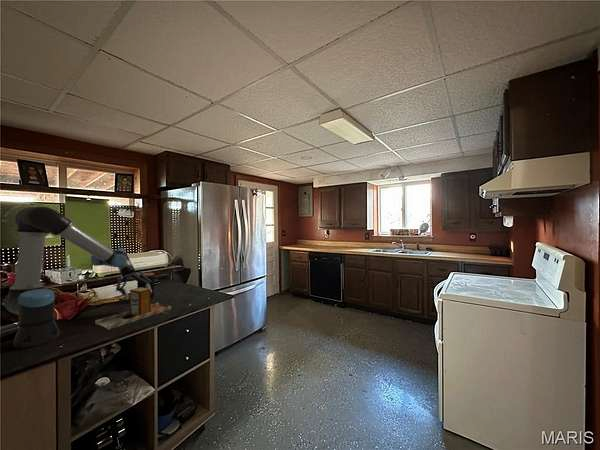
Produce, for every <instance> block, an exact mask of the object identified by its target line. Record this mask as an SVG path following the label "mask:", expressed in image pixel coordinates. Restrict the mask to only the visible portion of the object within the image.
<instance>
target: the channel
mask: <svg viewBox="0 0 600 450" xmlns="http://www.w3.org/2000/svg"><path fill="white" fill-rule="evenodd" d="M159 305H160V302H156V303H151V308H152V307H156V306H159ZM164 307H165V308H161V309H158V310H155V311H152V312H149V313H145V314H142V315H139V316H136V317H134V316H132V317H129V318H127V319H126V318H125V319H126V320H123V321H120V322H117V323H113V324H110V325H107V328H106V330H107V331H109V330H111V329H114V328H118V327H120V326H123V325H124V326H125V325H127V324H131V323H133V322H136V321H139V320H142V319H145V318H149V317H151V316H155V315H158V314H160V313H164V312H168V311H170V310H172V306H171V305H168V306H164ZM127 316H131V315H130V310H127V311H124V312H120V313H118V314H114V315H110V316H107V317H103V318H100V319H96V320H94V321H95V324H94V325H96V326H97V325H98V324H99V323H102V322H106V321H109V320H112V319H116V318H119V317H121V318H124V317H127Z"/></svg>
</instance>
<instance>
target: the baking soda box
mask: <svg viewBox="0 0 600 450" xmlns="http://www.w3.org/2000/svg"><path fill="white" fill-rule="evenodd" d="M151 304H152V301H151V289H148V288H142V287H140V288H133V289H130V290H129V311H130V315H129V316H131V317H136V316H139V315H142V314H145V313H149V312H151Z"/></svg>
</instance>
